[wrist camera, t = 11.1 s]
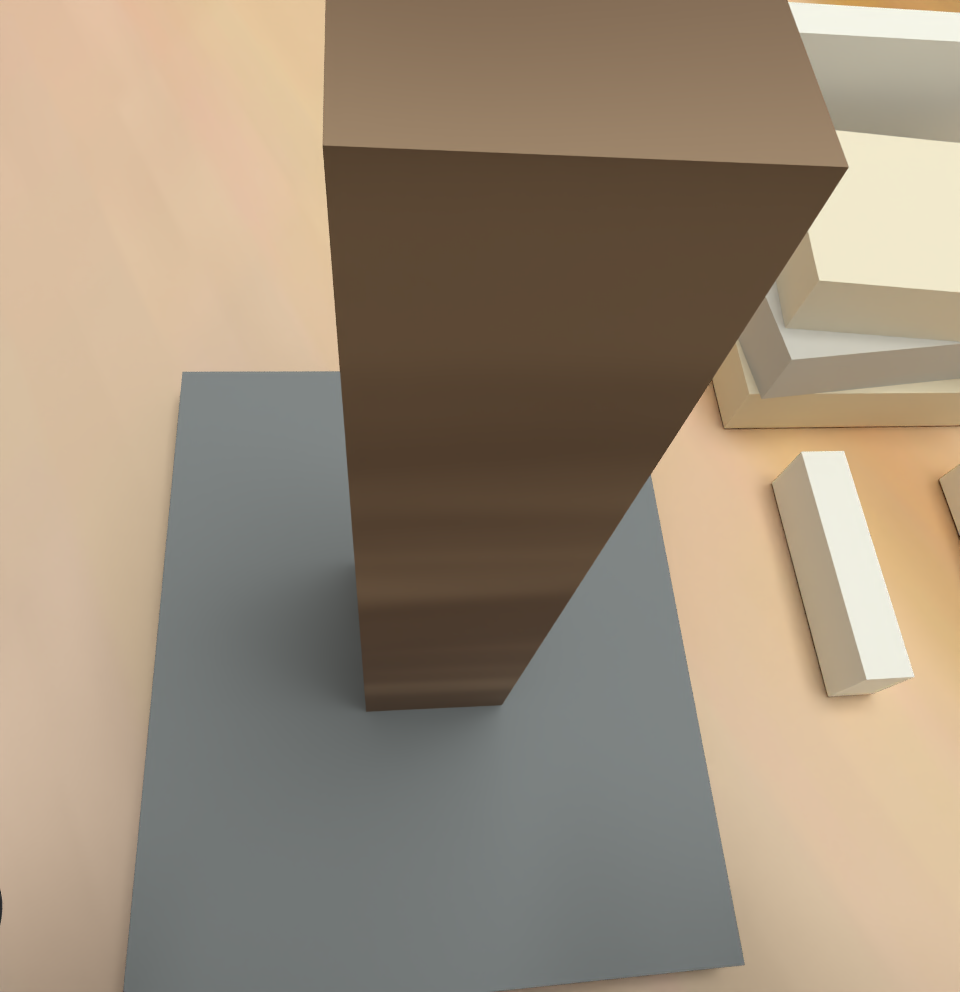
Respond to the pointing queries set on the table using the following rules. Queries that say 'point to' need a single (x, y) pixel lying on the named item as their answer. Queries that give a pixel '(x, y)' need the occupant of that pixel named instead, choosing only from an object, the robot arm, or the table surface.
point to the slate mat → (400, 754)
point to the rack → (862, 315)
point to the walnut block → (539, 289)
